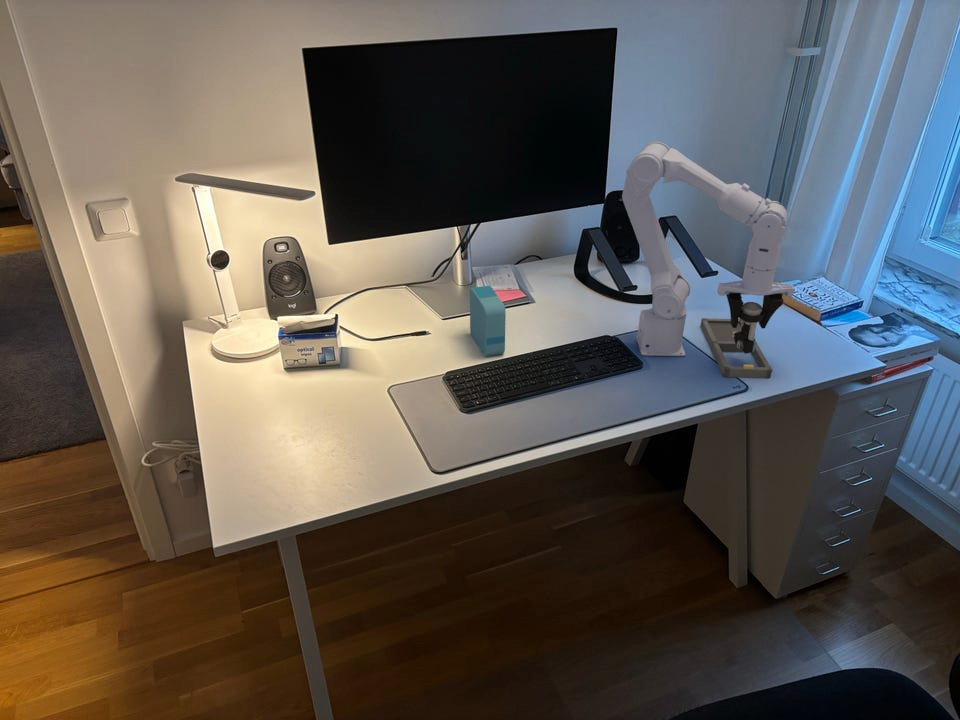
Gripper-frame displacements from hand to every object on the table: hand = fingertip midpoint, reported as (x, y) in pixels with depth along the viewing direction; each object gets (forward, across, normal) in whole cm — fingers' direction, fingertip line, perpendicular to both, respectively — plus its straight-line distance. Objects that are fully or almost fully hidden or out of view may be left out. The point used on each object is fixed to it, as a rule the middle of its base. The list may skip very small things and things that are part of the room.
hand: (747, 325), depth 151 cm
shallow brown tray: (+9, 0, -5) cm, 10 cm away
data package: (+9, +54, -6) cm, 55 cm away
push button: (+5, 0, -1) cm, 5 cm away
